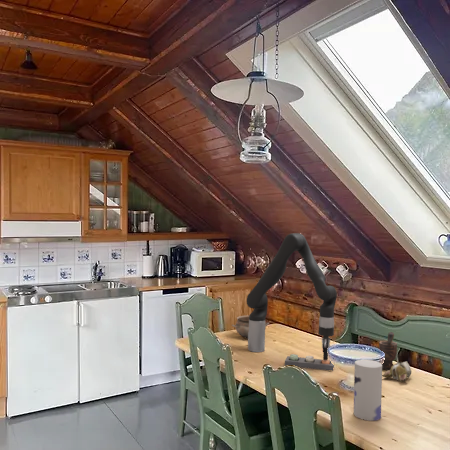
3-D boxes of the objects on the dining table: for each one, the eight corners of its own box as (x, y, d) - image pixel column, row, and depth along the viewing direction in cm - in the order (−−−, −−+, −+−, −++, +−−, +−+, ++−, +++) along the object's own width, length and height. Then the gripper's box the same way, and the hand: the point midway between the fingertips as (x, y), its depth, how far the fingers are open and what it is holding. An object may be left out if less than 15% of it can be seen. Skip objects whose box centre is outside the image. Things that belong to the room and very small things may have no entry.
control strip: (284, 365, 240) (284, 360, 240) (287, 360, 248) (287, 356, 248) (333, 370, 233) (333, 365, 233) (334, 365, 242) (334, 360, 242)
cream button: (305, 362, 239) (305, 357, 239) (306, 360, 243) (306, 355, 243) (313, 363, 238) (313, 358, 238) (313, 361, 242) (314, 356, 242)
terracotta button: (321, 366, 237) (321, 361, 237) (321, 364, 241) (321, 359, 241) (329, 367, 236) (329, 362, 236) (329, 365, 240) (329, 360, 240)
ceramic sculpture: (417, 360, 224) (402, 368, 213) (417, 378, 224) (402, 387, 214) (396, 355, 231) (380, 363, 221) (396, 373, 232) (380, 381, 222)
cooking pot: (236, 342, 283) (237, 322, 283) (226, 335, 301) (226, 316, 301) (274, 340, 292) (275, 320, 291) (262, 333, 309) (262, 314, 309)
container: (349, 410, 184) (350, 359, 184) (374, 410, 185) (375, 359, 185) (359, 421, 174) (360, 367, 174) (385, 420, 175) (386, 367, 175)
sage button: (289, 361, 241) (289, 355, 241) (290, 359, 245) (290, 353, 245) (297, 362, 240) (297, 356, 240) (298, 359, 244) (298, 354, 244)
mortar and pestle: (403, 372, 232) (404, 332, 232) (387, 373, 231) (388, 332, 231) (390, 365, 244) (391, 327, 244) (375, 366, 242) (376, 327, 242)
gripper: (320, 322, 246) (319, 355, 246) (317, 327, 233) (316, 362, 233) (334, 323, 244) (333, 356, 244) (333, 328, 231) (332, 364, 231)
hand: (325, 359), depth 238 cm, fingers closed
